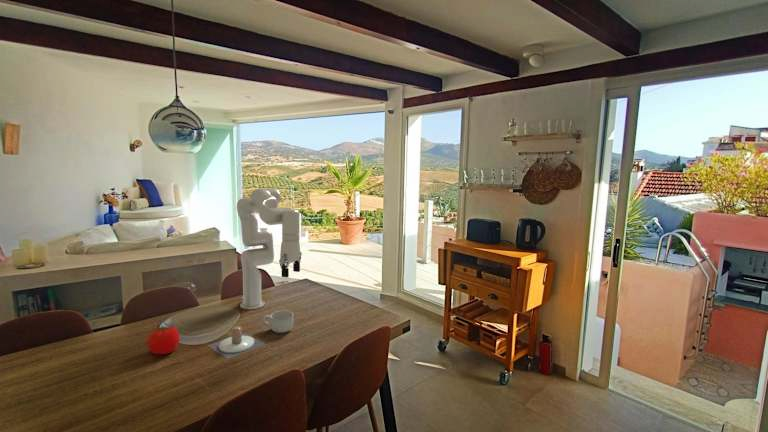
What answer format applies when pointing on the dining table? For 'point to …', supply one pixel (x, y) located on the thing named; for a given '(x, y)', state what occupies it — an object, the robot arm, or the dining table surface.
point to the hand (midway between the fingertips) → (291, 274)
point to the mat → (230, 355)
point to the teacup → (280, 321)
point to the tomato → (163, 340)
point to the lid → (236, 342)
